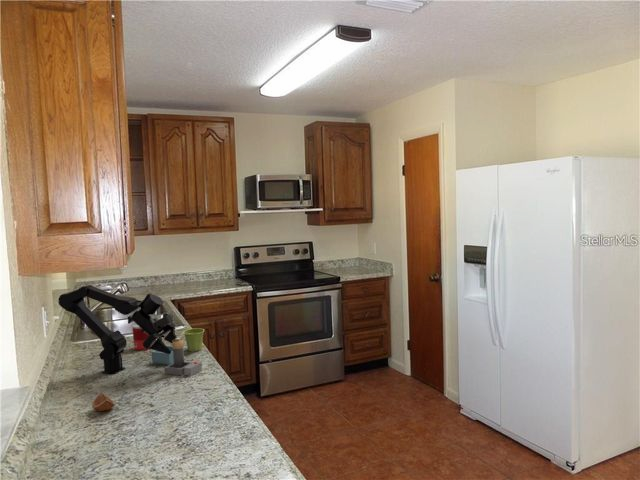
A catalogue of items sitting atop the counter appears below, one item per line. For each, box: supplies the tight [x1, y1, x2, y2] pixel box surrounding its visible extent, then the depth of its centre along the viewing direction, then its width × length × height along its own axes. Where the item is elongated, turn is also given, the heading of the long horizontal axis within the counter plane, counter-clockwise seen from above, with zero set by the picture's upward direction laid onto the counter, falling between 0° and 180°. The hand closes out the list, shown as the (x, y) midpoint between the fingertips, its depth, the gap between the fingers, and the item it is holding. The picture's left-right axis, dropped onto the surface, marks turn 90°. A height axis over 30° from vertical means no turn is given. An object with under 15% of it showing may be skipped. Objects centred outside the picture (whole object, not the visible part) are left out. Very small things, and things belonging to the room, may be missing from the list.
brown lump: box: [91, 391, 116, 412], centre depth 154 cm, size 8×7×5 cm
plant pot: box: [182, 328, 205, 353], centre depth 215 cm, size 9×9×9 cm
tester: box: [163, 360, 203, 377], centre depth 187 cm, size 8×12×4 cm, turn 68°
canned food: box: [132, 323, 151, 352], centre depth 221 cm, size 8×8×11 cm
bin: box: [151, 345, 174, 366], centre depth 201 cm, size 9×9×5 cm
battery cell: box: [171, 337, 185, 368], centre depth 188 cm, size 4×4×13 cm
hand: (175, 349), depth 188 cm, fingers open, 9 cm apart
